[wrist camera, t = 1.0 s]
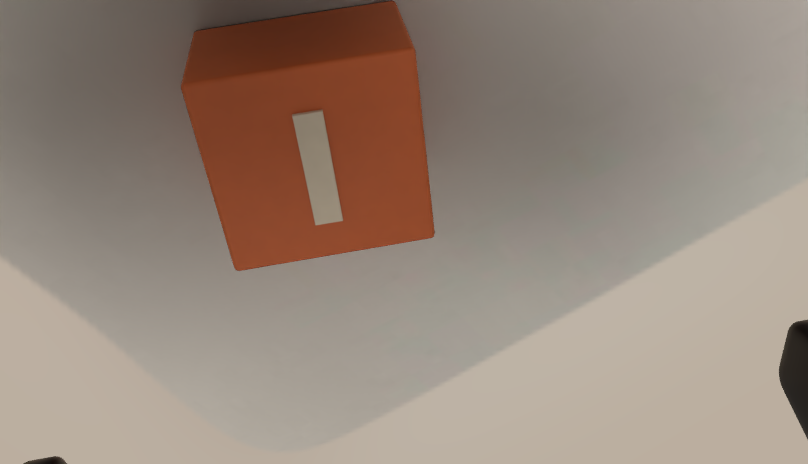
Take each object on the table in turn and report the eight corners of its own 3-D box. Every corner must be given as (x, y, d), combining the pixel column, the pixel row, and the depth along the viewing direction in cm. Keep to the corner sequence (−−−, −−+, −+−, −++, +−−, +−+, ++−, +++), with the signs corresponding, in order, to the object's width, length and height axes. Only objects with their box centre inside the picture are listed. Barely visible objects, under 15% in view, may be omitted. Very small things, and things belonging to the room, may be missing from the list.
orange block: (415, 172, 20) (436, 241, 17) (240, 201, 19) (234, 276, 17) (394, -2, 17) (416, 49, 15) (192, 29, 17) (178, 87, 14)
